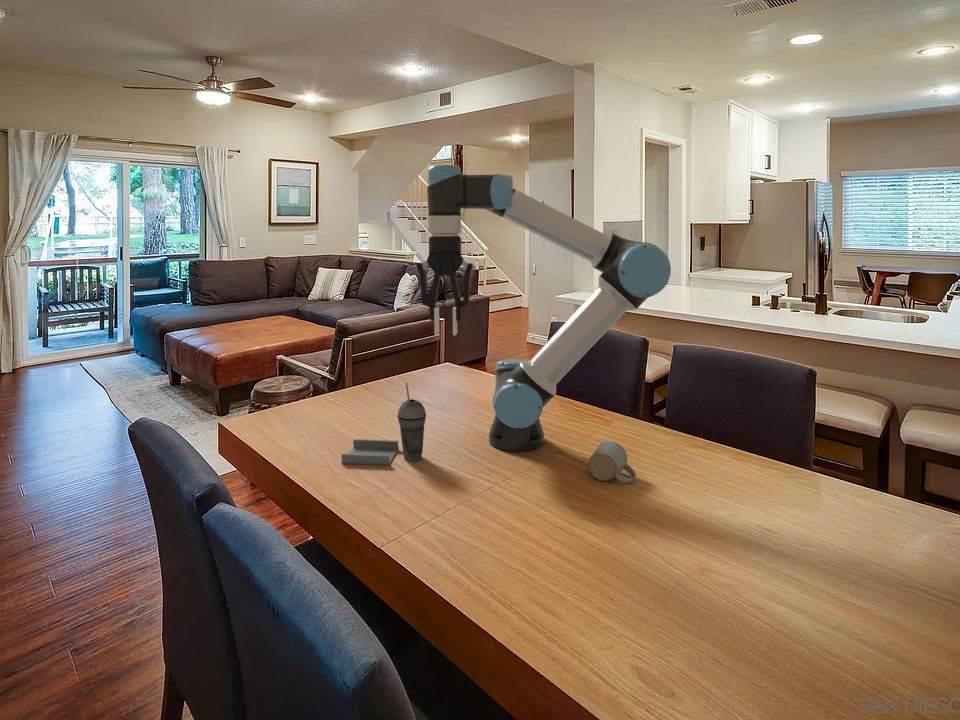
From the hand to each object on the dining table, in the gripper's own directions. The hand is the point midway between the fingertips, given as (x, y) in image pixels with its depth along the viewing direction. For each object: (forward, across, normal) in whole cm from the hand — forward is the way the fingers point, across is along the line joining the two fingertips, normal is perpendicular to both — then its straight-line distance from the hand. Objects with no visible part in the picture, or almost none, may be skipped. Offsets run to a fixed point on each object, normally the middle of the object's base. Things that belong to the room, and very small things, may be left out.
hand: (446, 333), depth 141 cm
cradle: (+33, +20, 0) cm, 38 cm away
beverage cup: (+33, +9, 0) cm, 34 cm away
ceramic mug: (+33, -41, +6) cm, 53 cm away
